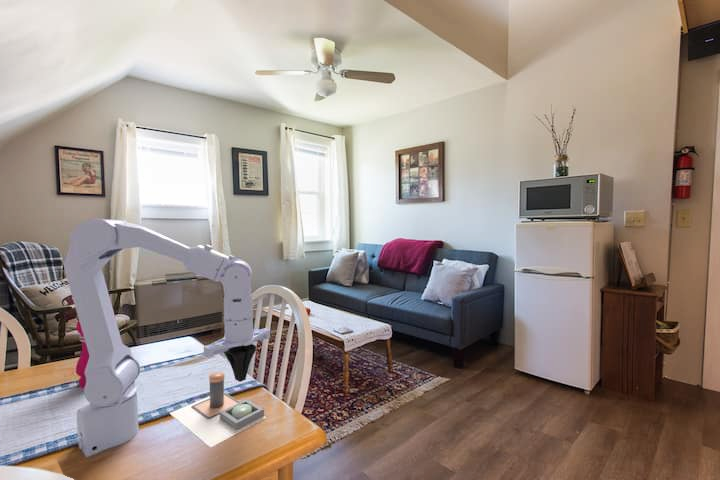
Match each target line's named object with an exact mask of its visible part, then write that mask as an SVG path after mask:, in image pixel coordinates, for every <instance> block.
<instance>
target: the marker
mask: <svg viewBox="0 0 720 480" xmlns="http://www.w3.org/2000/svg"><path fill="white" fill-rule="evenodd" d="M208 377H209V396H210V407H211V408H219V407H221V406H223V405H224V393H225V373H224V372H221V371H218V372H213V373H211V374H209V376H208Z"/></svg>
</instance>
